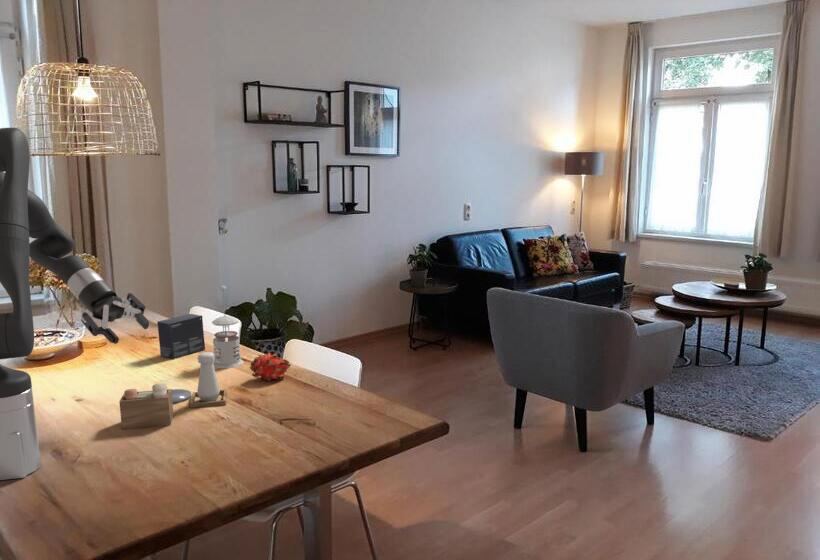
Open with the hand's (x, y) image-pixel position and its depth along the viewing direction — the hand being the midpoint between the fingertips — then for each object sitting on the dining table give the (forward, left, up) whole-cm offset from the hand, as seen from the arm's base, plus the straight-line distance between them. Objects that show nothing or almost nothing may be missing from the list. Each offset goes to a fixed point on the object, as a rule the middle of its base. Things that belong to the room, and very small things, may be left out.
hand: (132, 334), depth 161 cm
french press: (+40, -20, -21) cm, 49 cm away
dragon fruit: (+21, -33, -22) cm, 44 cm away
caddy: (-5, -3, -21) cm, 22 cm away
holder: (+7, -16, -21) cm, 28 cm away
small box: (+55, -5, -22) cm, 59 cm away
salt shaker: (+7, -16, -21) cm, 28 cm away
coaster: (+11, -6, -21) cm, 25 cm away
